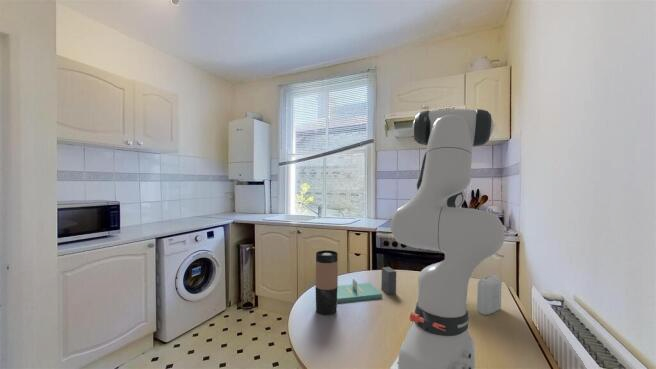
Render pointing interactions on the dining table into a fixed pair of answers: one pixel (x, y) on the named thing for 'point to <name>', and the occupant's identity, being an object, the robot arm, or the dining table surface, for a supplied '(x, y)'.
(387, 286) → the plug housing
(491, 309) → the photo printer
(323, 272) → the travel mug
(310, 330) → the dining table surface
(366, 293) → the teal plate
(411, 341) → the robot arm
